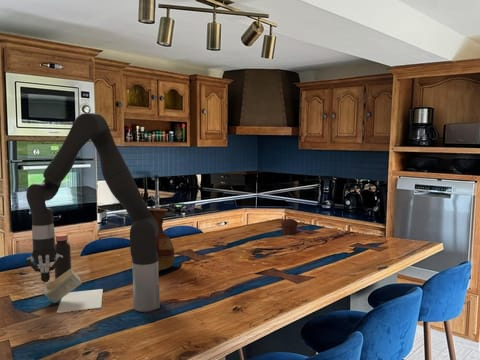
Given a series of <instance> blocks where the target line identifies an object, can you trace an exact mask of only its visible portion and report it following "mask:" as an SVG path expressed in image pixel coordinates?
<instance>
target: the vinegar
mask: <svg viewBox="0 0 480 360" xmlns="http://www.w3.org/2000/svg"><path fill="white" fill-rule="evenodd" d="M68 239H69V237H68V234H67V233H58V234H55V249H56V251H57V254H59V255H62V256H63V258H62V260H61V261H60V262H59V264H58V265H57V266H56V267H55V269H54V280H55V279H57V278H58V277H59V276H61V275H62V274H64V273H65V272H66V271H68V270H69V269H72V258H71V257H72V256H71V253H72V252H71V244H69V243H68V241H69V240H68ZM55 258H56V256H55V257H54V259H53V261H54V263H55V261H56V259H55ZM54 263H53V264H54Z"/></svg>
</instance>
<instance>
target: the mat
mask: <svg viewBox="0 0 480 360" xmlns="http://www.w3.org/2000/svg"><path fill="white" fill-rule="evenodd" d="M103 291H104V289H103V288H99V289H91V290H90V289H89V290H79V291H71V292H69V293H68V294H67V295H65V296H64V297H62V298H61V299H60V303H59V304H58V308H57V311H56V314H62V313H63V314H64V313H71V311H73V312H79V310H81V311H89V310H88V309H90V310H97V309H102V303H103Z"/></svg>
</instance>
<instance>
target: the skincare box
mask: <svg viewBox="0 0 480 360" xmlns="http://www.w3.org/2000/svg"><path fill="white" fill-rule="evenodd" d="M82 284H83V283H82V280H81V278H80V276H79V275H78V274H77V273H76V272H75V271H74V270H73V269H72V268H71V269H69V270H68V271H66V272H65V273H64V274H62V275H61V276H59V277H58V278H57V279H55V278H54V280H52V281H51V282H50V283H48V284H47V285H45V286H44V287H42V291H43V294H44V296H45V297H46V298H48V299H49V300H50V301H51V302H52V303H54V304H55V303H57V302H58V301H59V300H60V301H61V299H62V297H64V296H65V295H67V294H68V293H69V292H73V290H75V289H77V287H79V286H80V285H82Z"/></svg>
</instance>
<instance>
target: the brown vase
mask: <svg viewBox="0 0 480 360" xmlns="http://www.w3.org/2000/svg"><path fill="white" fill-rule="evenodd" d="M147 208H148V209H149V211H150V212H151V214H152V215H153V217H154V218H155V220H156V222H157V223H158V227H159V231H158V234H157V236H156V251H157V253H158V272H160V271H162V270H166V269H168V268H170V267H172V266H173V265H174V261H175V249H174V245H173V242H172V240H171V239H170V237H169V235H167V234H166V233H165V232H164V228H163V223H164V216H165V215H166V214H167V212H169V209H167V208H153V207H152V208H151V207H147Z"/></svg>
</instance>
